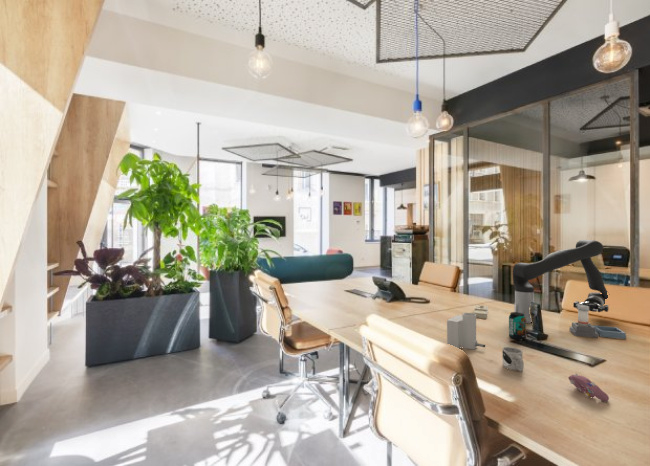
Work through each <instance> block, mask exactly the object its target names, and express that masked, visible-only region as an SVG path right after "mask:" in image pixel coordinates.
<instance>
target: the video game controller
mask: <svg viewBox="0 0 650 466" xmlns="http://www.w3.org/2000/svg"><path fill="white" fill-rule="evenodd" d="M567 378H568V380H569V382H570V384H572V385H574V387H575V389H577V390H578V391H579V392H580V391H581V392H580V393H582V392H583V393H585V395H586V396H587V397H589V396H590V397H592V398H591V399H593V398H594V397H596V398H597V399H598V400H600V401H602V402H605V401H606V402H608V401H609V400H610V397H609V395H608V394H607V393H606V392H604V391H603V390H602V389H601V388H600V387H599V386H598V385H597V384H596V383H594V382H593V381H591V380H590V379H589V378H588V377H586V376H584V375H578V373H575V374H572V375H571V374H570V375H569V376H568V377H567ZM590 397H589V398H590Z"/></svg>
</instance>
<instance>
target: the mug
mask: <svg viewBox="0 0 650 466" xmlns="http://www.w3.org/2000/svg"><path fill="white" fill-rule="evenodd" d="M523 359H524V357H523V350H522V349H520V348H518V347H513V346H505V347H502V367H503V366H504V367H505V369H506V368H508V369H507V370H509V369H511V370H510V371H513V370H519V371H518V372H523V371H524V369H525V368H524V367H525V366H524V360H523ZM504 367H503V368H504Z"/></svg>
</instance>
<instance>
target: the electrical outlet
mask: <svg viewBox="0 0 650 466" xmlns="http://www.w3.org/2000/svg"><path fill="white" fill-rule="evenodd" d="M473 313H474V314H476V318H477V317H478V318H479V319H488V313H489V305H480V304H475V307H474V311H473Z"/></svg>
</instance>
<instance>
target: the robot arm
mask: <svg viewBox="0 0 650 466" xmlns="http://www.w3.org/2000/svg"><path fill="white" fill-rule="evenodd" d="M603 250H604V246H603V244H602V242H600V241H597V240H591V239H580V240H578V241H577V242H576V244H575V248H566V249H561V250H557V251H553V252H552V253H549V254H547V255H545V256H544V258H543V259H541V260H540V261H536V262H531V263H526V262H525V263H524V262H517V263H515V264H514V266H513V268H512V283H513V284H512V285H513V287H514V304H513V305H514V311H513V312H518V313H523V314H524V316H525V318H526V324H532V323H531V318H530V314H529V307H530V304H531V302H534V303H535V288H534V286H533V285H532V284H531V283H530V281H532V280H534V279H537V278H538V277H541V276H542V275H545V274H546V273H549V272H553V271H554V270H558V269H562V268H563V267H566V266H569V265H571V264H574V263H577V262H579V261H580V262H581V265H582V268H583V269H584V271H585V275H586V280H587V285H588V287H589V289H590V290H592V291H597V292H590V293H588V295H587V298H586V299H585V300H584V301H581V302H580V301H577V300H576V301H574V302H572V303H573V304H572V305H573V308H575V309H577V310H578V305H585V306H589V311H588V312H592V313H593V312H594V313H596V312H597V313H600V312H601V313H603V312H605V313H606V312H609V305H604V304H605V299H607V298H608V295H607V292H608V290H607V288H606V286H605V283H604V278H603V275H602V273H601V271H600V270H599V269H598V268H597V266H596V265H595V264H594V262H593V260H592V257H593V258H594V257H596V256H599V255H600V254H601V253H602V252H603ZM600 293H602V294H600Z"/></svg>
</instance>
